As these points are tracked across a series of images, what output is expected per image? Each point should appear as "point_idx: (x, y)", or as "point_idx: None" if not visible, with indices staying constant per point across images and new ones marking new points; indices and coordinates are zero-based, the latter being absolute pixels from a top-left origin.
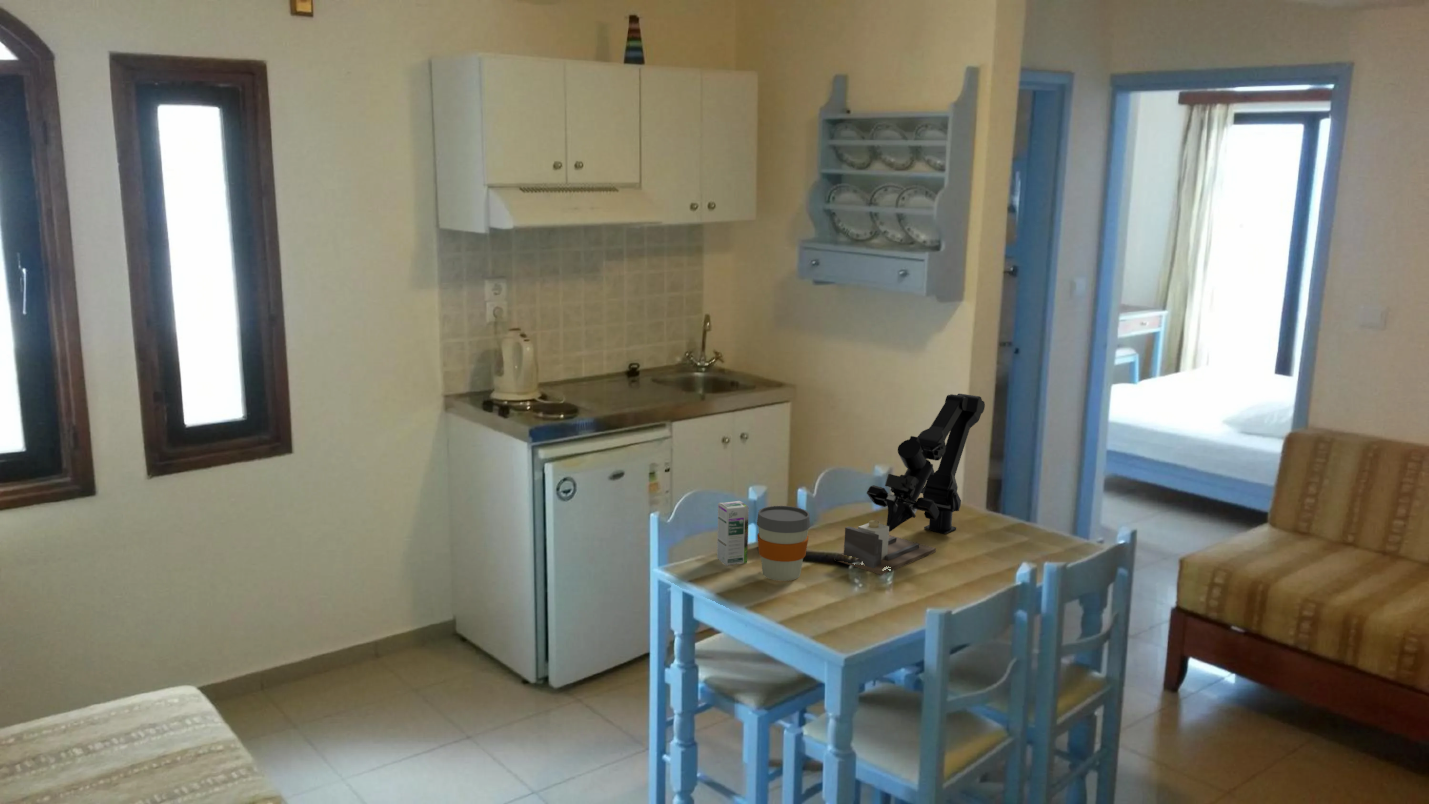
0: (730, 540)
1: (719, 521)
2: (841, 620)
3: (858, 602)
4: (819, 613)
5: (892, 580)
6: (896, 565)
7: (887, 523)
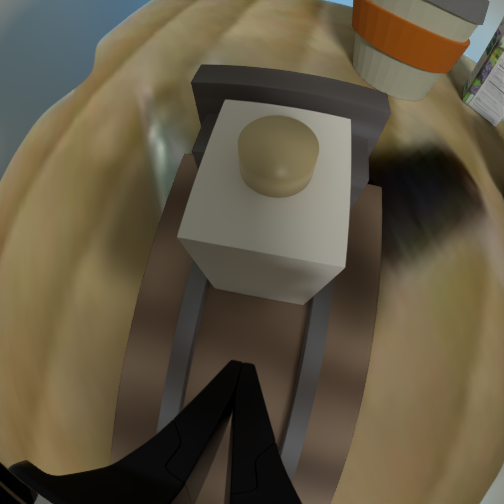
0: (482, 55)
1: None
2: (194, 10)
3: (190, 41)
4: (231, 9)
5: (149, 147)
6: (157, 233)
7: (253, 389)
